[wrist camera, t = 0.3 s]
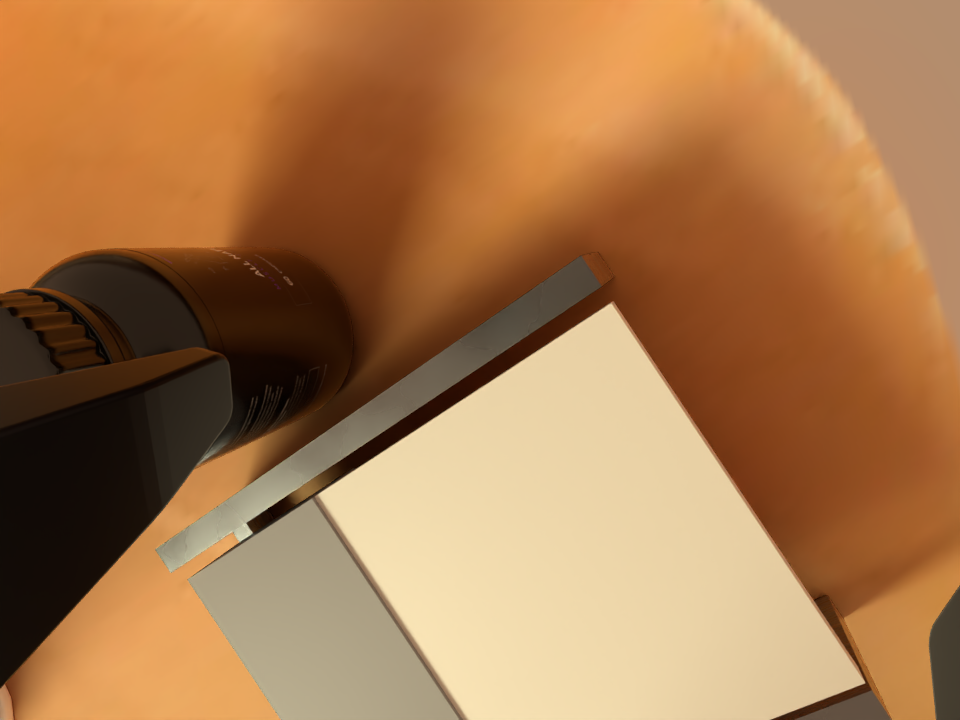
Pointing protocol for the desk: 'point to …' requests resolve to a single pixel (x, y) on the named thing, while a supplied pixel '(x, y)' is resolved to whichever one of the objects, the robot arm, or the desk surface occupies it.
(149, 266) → the supplement bottle
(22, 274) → the desk surface
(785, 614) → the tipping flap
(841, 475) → the desk surface
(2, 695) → the decorative candle
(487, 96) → the desk surface
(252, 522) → the flap frame
